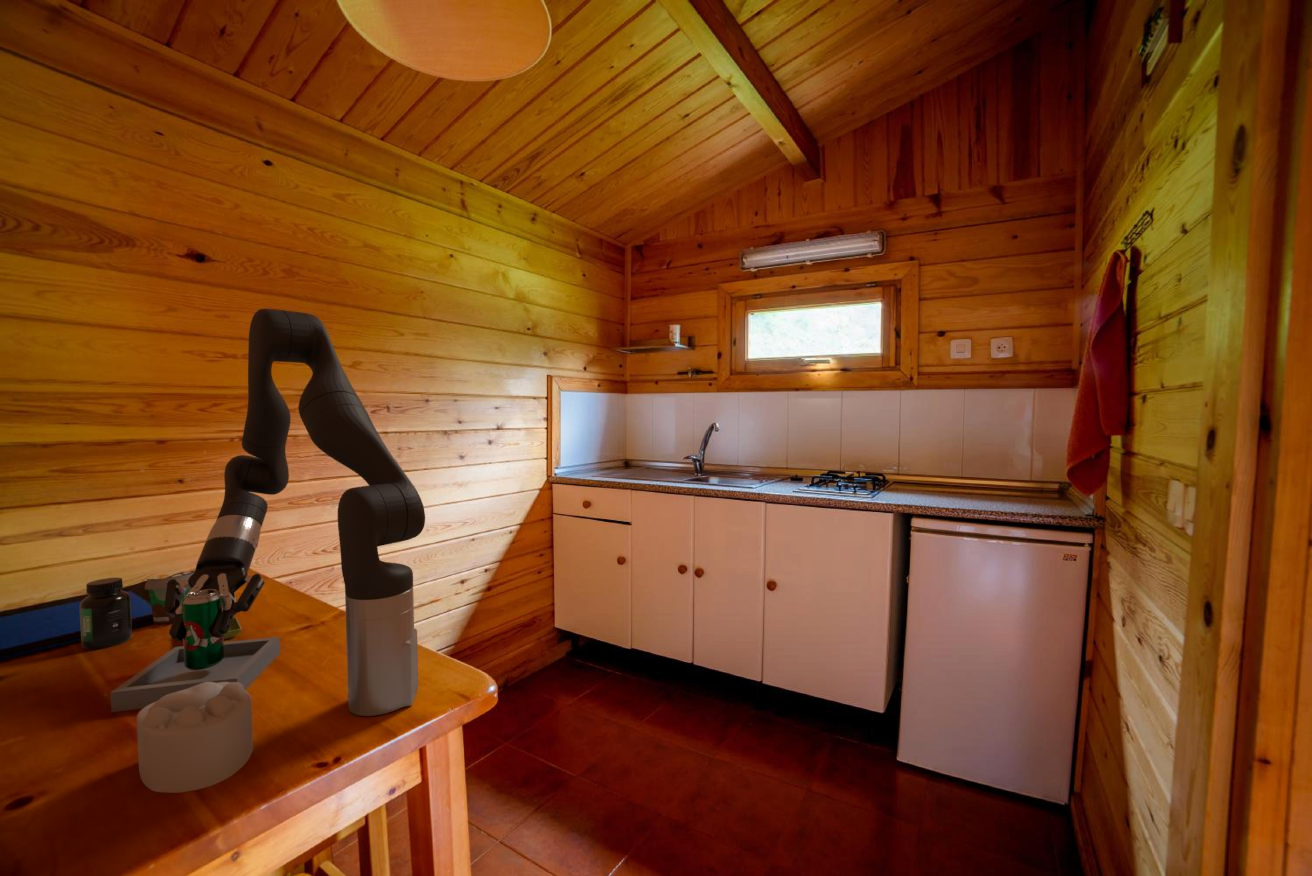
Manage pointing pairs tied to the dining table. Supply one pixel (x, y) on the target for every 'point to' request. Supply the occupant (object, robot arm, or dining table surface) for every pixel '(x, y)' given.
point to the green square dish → (233, 629)
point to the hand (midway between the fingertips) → (197, 637)
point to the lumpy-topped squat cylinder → (195, 737)
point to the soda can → (201, 629)
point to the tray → (194, 673)
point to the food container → (163, 596)
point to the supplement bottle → (105, 614)
